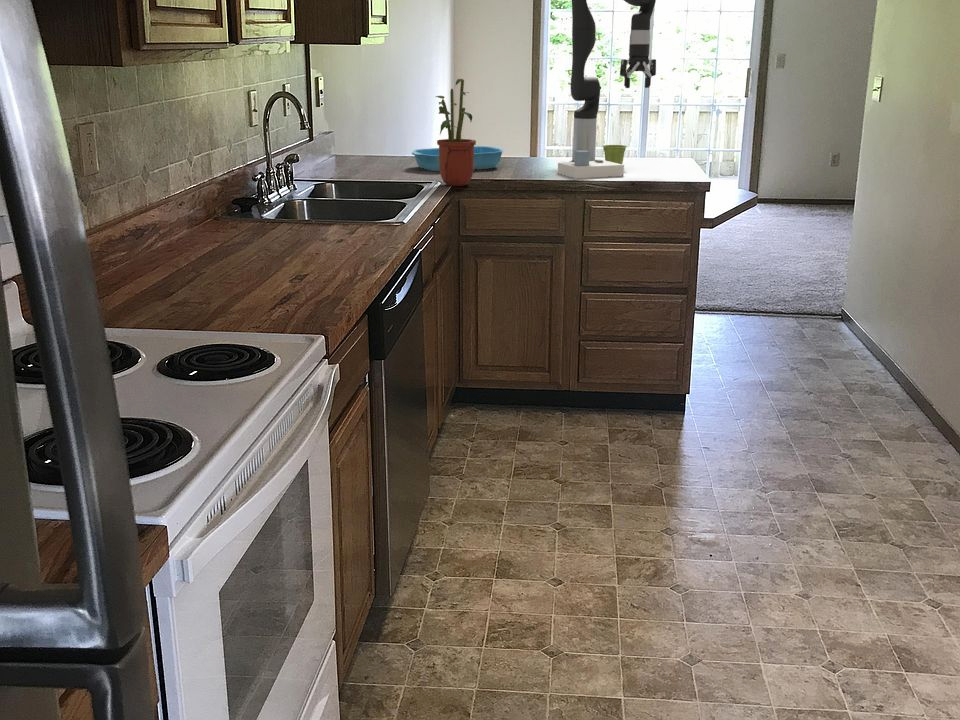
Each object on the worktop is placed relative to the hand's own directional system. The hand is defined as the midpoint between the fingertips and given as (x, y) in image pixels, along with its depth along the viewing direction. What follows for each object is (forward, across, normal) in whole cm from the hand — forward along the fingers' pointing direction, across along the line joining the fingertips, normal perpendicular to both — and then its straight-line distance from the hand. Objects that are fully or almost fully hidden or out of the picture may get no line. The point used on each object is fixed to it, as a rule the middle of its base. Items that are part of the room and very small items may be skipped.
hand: (637, 87), depth 367 cm
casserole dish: (+31, +64, -24) cm, 75 cm away
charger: (+30, +30, +14) cm, 45 cm away
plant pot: (+30, +8, -1) cm, 31 cm away
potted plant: (+30, +83, +19) cm, 90 cm away
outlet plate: (+30, +25, +12) cm, 41 cm away
